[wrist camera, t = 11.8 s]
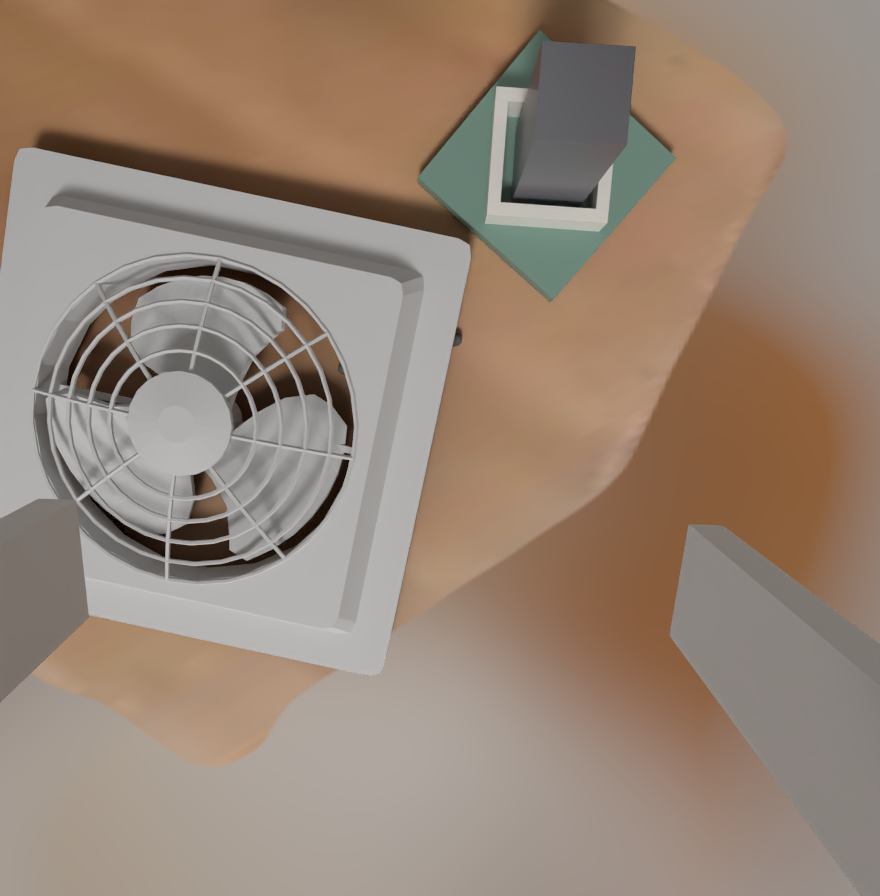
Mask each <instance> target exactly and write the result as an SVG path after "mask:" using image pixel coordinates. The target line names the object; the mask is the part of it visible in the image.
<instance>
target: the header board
mask: <svg viewBox="0 0 880 896" xmlns="http://www.w3.org/2000/svg"><path fill="white" fill-rule="evenodd" d="M542 41H551V40H550V39H549V38H548V37H547V36H546V35H545V34H544V33H543V32H542V31H541V30H539V31H538V32H537V34H536V35H535V36H534V37H533V39H532V40H531V41H530V42H529V43H528V45H527V46H526V47H525V48H524V49H523V51H522V52H521V53H520V54H519V55H518V57H517V58H516V59H515V60H514V61H513V63H512V64H511V65H510V66H509V68H508V69H507V70H506V71H505V72H504V74H503V75H502V76H501V77H500V78H499V80H498V81H497V82H496V83H495V84H494V86H493V87H492V88H491V89H490V90H489V92H488V93H487V94H486V95H485V97H484V98H483V99H482V100H481V101H480V103H479V104H478V105H477V106H476V107H475V109H474V110H473V111H472V112H471V113H470V115H469V116H468V117H467V118H466V120H465V121H464V122H463V123H462V124H461V126H460V127H459V128H458V129H457V130H456V132H455V133H454V134H453V135H452V136H451V138H450V139H449V140H448V141H447V142H446V144H445V145H444V146H443V147H442V149H441V150H440V151H439V152H438V153H437V155H436V156H435V157H434V158H433V159H432V161H431V162H430V163H429V164H428V165H427V167H426V168H425V169H424V170H423V171H422V173H421V174H420V175H419V176H418V184H419V185H420V186H421V187H422V188H424V189H425V190H426V191H427V192H428V193H429V194H430V195H431V196H432V197H434V198H435V199H436V200H437V201H438V202H439V203H440V204H441V205H442V206H444V207H445V208H446V209H447V210H448V211H449V212H450V213H451V214H452V215H454V216H455V217H456V218H457V219H458V220H459V221H460V222H461V223H462V224H464V225H465V226H466V227H467V228H468V229H469V230H470V231H471V232H473V233H474V234H475V235H476V236H477V237H478V238H479V239H480V240H481V241H483V242H484V243H485V244H486V245H487V246H488V247H489V248H490V249H491V250H493V251H494V252H495V253H496V254H497V255H498V256H499V257H500V258H501V259H503V260H504V261H505V262H506V263H507V264H508V265H509V266H510V267H511V268H513V269H514V270H515V271H516V272H517V273H518V274H519V275H520V276H521V277H523V278H524V279H525V280H526V281H527V282H528V283H529V284H530V285H531V286H533V287H534V288H535V289H536V290H537V291H538V292H539V293H540V294H541V295H543V296H544V297H545V298H546V299H547V300H548V301H549V302H551V301H552V300H553V299H554V298H555V297H556V296H557V295H558V294H559V292H560V291H561V290H562V289H563V288H564V287H565V285H566V284H567V283H568V282H569V281H570V280H571V279H572V277H573V276H574V275H575V274H576V273H577V272H578V270H579V269H580V268H581V267H582V266H583V265H584V264H585V262H586V261H587V260H588V259H589V258H590V257H591V256H592V254H593V253H594V252H595V251H596V250H597V249H598V247H599V246H600V245H601V244H602V243H603V242H604V241H605V239H606V238H607V237H608V236H609V235H610V234H611V233H612V231H613V230H614V229H615V228H616V227H617V226H618V224H619V223H620V222H621V221H622V220H623V219H624V218H625V216H626V215H627V214H628V213H629V212H630V211H631V210H632V208H633V207H634V206H635V205H636V204H637V203H638V201H639V200H640V199H641V198H642V197H643V196H644V195H645V193H646V192H647V191H648V190H649V189H650V188H651V186H652V185H653V184H654V183H655V182H656V181H657V180H658V178H659V177H660V176H661V175H662V174H663V173H664V172H665V170H666V169H667V168H668V167H669V166H670V165H671V163H672V162H673V161H674V160H675V159H676V157H675V156H674V155H673V154H672V153H670V152H669V151H668V150H667V149H666V148H665V147H664V146H663V145H662V144H661V143H660V142H659V141H658V140H657V139H656V138H655V137H653V136H652V135H651V134H650V133H649V132H648V131H647V130H646V129H645V128H644V127H643V126H642V125H641V124H640V123H639V122H637V121H636V120H635V119H634V118H633V117H632V116H631V115H630V118H629V129H628V140H627V146H626V147H625V148H624V149H623V151H622V152H621V153H620V155H619V156H618V157H617V159H616V160H615V161H614V163H613V164H612V165H611V167H610V168H609V169H608V170H607V172H606V173H605V174H604V176H603V177H602V178H601V180H600V181H599V182H598V184H597V185H596V186H595V188H594V189H593V190H592V191H591V193H590V194H589V195H588V197H587V198H586V199H585V201H584V202H583V203H582V205H581V206H580V207H579V208H576V207H562V206H548V205H534V204H520V203H511V191H512V177H513V162H514V148H515V134H516V129H517V126H518V123H519V119H520V116H521V112H522V109H523V105H524V102H525V98H526V95H527V92H528V88H529V85H530V81H531V78H532V74H533V71H534V67H535V64H536V61H537V57H538V54H539V50H540V47H541V43H542Z"/></svg>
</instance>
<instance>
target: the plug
mask: <svg viewBox="0 0 880 896" xmlns="http://www.w3.org/2000/svg"><path fill="white" fill-rule="evenodd" d="M635 50H636V47H634V46H618V45H602V44H586V43H570V42H554V41H542V43H541V47H540V50H539V54H538V57H537V61H536V64H535V67H534V71H533V74H532V78H531V81H530V85H529V88H528V92H527V95H526V98H525V102H524V105H523V109H522V112H521V116H520V119H519V123H518V126H517V129H516V134H515V148H514V162H513V177H512V191H511V203H520V204H534V205H548V206H562V207H576V208H579V207H580V206H581V205H582V203H583V202H584V201H585V199H586V198H587V197H588V195H589V194H590V193H591V191H592V190H593V189H594V188H595V186H596V185H597V184H598V182H599V181H600V180H601V178H602V177H603V176H604V174H605V173H606V172H607V170H608V169H609V168H610V167H611V165H612V164H613V163H614V161H615V160H616V159H617V157H618V156H619V155H620V153H621V152H622V151H623V149H624V148H625V147H626V146H627V140H628V129H629V118H630V106H631V95H632V84H633V73H634V61H635Z"/></svg>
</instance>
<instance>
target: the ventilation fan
mask: <svg viewBox="0 0 880 896" xmlns="http://www.w3.org/2000/svg"><path fill="white" fill-rule="evenodd" d="M470 262H471V253H470V245H469V244H467V243H466V242H464V241H462V240H461V239H459V238H455V237H450V236H445V235H441V234H436V233H431V232H426V231H422V230H417V229H412V228H408V227H403V226H398V225H394V224H389V223H384V222H380V221H375V220H370V219H366V218H361V217H356V216H351V215H347V214H342V213H337V212H333V211H328V210H323V209H319V208H314V207H309V206H305V205H300V204H295V203H290V202H286V201H281V200H276V199H272V198H267V197H262V196H258V195H253V194H248V193H244V192H239V191H234V190H229V189H225V188H220V187H215V186H211V185H206V184H201V183H197V182H192V181H187V180H183V179H178V178H173V177H169V176H164V175H159V174H154V173H150V172H145V171H140V170H136V169H131V168H126V167H122V166H117V165H112V164H108V163H103V162H98V161H93V160H89V159H84V158H79V157H75V156H70V155H65V154H61V153H56V152H51V151H47V150H42V149H37V148H23V149H19V151H18V154H17V156H16V158H15V160H14V167H13V175H12V183H11V191H10V199H9V207H8V215H7V223H6V231H5V239H4V247H3V255H2V263H1V271H0V518H2V517H4V516H6V515H8V514H10V513H12V512H14V511H16V510H18V509H19V508H21V507H23V506H25V505H27V504H29V503H31V502H33V501H35V500H37V499H64V500H76V503H77V512H78V522H79V531H80V540H81V549H82V558H83V567H84V577H85V586H86V595H87V604H88V613H89V615H92V616H96V617H101V618H105V619H110V620H115V621H119V622H124V623H128V624H133V625H137V626H142V627H147V628H151V629H156V630H160V631H165V632H170V633H174V634H179V635H183V636H188V637H192V638H197V639H202V640H206V641H211V642H215V643H220V644H225V645H229V646H234V647H238V648H243V649H247V650H252V651H257V652H261V653H266V654H270V655H275V656H280V657H284V658H289V659H293V660H298V661H302V662H307V663H312V664H316V665H321V666H325V667H330V668H335V669H339V670H344V671H349V672H353V673H358V674H362V675H378V674H379V673H380V671H381V670H382V668H383V666H384V664H385V661H386V656H387V651H388V646H389V642H390V637H391V633H392V628H393V623H394V618H395V614H396V609H397V604H398V600H399V595H400V590H401V586H402V581H403V576H404V572H405V567H406V562H407V557H408V553H409V548H410V543H411V539H412V534H413V529H414V525H415V520H416V515H417V510H418V506H419V501H420V496H421V492H422V487H423V482H424V478H425V473H426V468H427V464H428V459H429V454H430V449H431V445H432V440H433V435H434V431H435V426H436V421H437V417H438V412H439V407H440V403H441V398H442V393H443V388H444V384H445V379H446V374H447V370H448V365H449V360H450V356H451V351H452V346H453V341H454V337H455V332H456V327H457V323H458V318H459V313H460V309H461V304H462V299H463V295H464V290H465V285H466V280H467V276H468V271H469V266H470ZM204 266H215V270H214V273H213V276H188V275H181V276H170V277H160V278H154V279H151V280H148V279H150V278H152V277H154V276H156V275H158V274H160V273H162V272H165V271H169V270H178V269H187V268H196V267H204ZM220 267H223V268H228V269H232V270H237V271H242V272H246V273H251V274H256V275H260V276H262V277H264V278H265V279H267V280H269V281H270V282H272V283H274V284H276V285H277V286H279V287H281V288H282V289H283V290H284V291H286V292H287V293H288V294H289V295H290V296H292V297H293V298H294V299H295V300H296V301H297V302H299V303H300V304H301V305H302V306H303V307H304V308H305V309H306V310H307V312H308V313H309V314H310V315H311V316H312V317H313V318H314V320H315V321H316V322H317V323H318V325H319V326H320V327H321V328H322V330H323V331H324V333H322V334H321V335H319V336H317V337H316V338H314V339H312V340H310V341H309V342H307V341H306V339H305V338H304V337H303V336H302V334H301V333H300V332H299V331H298V329H297V328H296V327H295V326H294V325H293V323H292V322H291V321H290V320H289V319H288V318H287V317H286V308H285V307H284V306H282V305H281V304H280V303H279V302H277V301H276V300H275V299H274V298H272V297H271V296H270V295H269V294H267V293H265V292H263V291H261V290H259V289H257V288H255V287H254V286H252V285H250V284H248V283H245V282H241V281H237V280H233V279H230V278H226V277H218V274H219V271H220ZM146 280H148V281H146ZM170 281H172V282H170ZM159 282H169V283H166V284H163V285H161V286H158V287H156V288H154V289H153V290H151V291H150V292H148V293H146V294H145V295H143V296H141V297H140V298H139V299H138V302H137V305H136V308H135V309H133V310H131V311H129V312H127V313H126V314H124V315H122V316H120V317H118V318H117V317H116V315H115V313H114V311H113V309H112V307H111V305H110V304H111V303H112V302H113V301H114V300H116V299H118V298H120V297H121V296H123V295H125V294H127V293H129V292H130V291H133V290H136V289H139V288H142V287H145V286H149V285H152V284H155V283H159ZM106 308H107V310H108V312H109V314H110V316H111V318H112V320H113V322H111V323H110V324H109V325H108V326H107V327H106V328H105V329H103V330H102V331H101V332H100V333H99V334H98V335H97V336H96V337H95V338H94V340H93V341H92V342H91V344H90V345H89V346H88V348H87V349H86V350H85V352H84V353H83V354H82V356H81V358H80V361H79V363H78V365H77V367H76V369H75V371H74V373H73V375H72V379H71V383H70V386H69V385H67V380H68V373H69V366H70V364H71V362H72V360H73V358H74V356H75V354H76V352H77V350H78V348H79V346H80V344H81V342H82V340H83V338H84V336H85V334H86V332H87V330H88V328H89V325H90V324H91V323H92V322H93V321H94V320H95V319H96V318H97V317H98V316H99V315H100V314H101V313H102V312H103V311H104V310H105V309H106ZM131 316H133V317H132V320H131V337H130V338H128V337H127V335H126V333H125V331H124V329H123V328H122V326H121V324H120V322H122V321H124V320H125V319H127V318H129V317H131ZM285 323H287V324H288V326H289V327H290V328H291V329H292V331H293V332H294V333H295V334H296V336H297V337H298V338H299V339H300V341H301V342H302V343H303V344H304V345H302V346H300V347H299V348H297V349H295V350H294V351H292V352H290V353H289V354H287V355H286V354H285V352H284V351H283V350H282V349H281V348H280V346H279V345H278V344H277V343H276V341H275V340H274V338H275V337H276V336H278V335H279V334H280V333H282V332H283V331H284V330H285ZM115 326H116V327H117V329H118V331H119V332H120V334H121V336H122V338H123V340H124V342H123V343H122V344H120V345H119V346H118V347H117V348H116V349H115V350H114V351H112V352H111V354H110V355H109V356H108V358H107V359H106V360H105V361H104V363H103V364H102V365H101V367H100V368H99V370H98V372H97V375H96V377H95V379H94V381H93V383H92V385H91V389H90V390H89V389H84V388H79V387H75V385H76V381H77V377H78V375H79V373H80V371H81V369H82V367H83V365H84V362H85V360H86V358H87V356H88V355H89V354H90V352H91V351H92V350H93V348H94V347H95V346H96V344H97V343H98V342H99V340H100V339H101V338H102V337H103V336H104V335H106V334H107V333H108V332H109V331H110V330H111V329H113V328H114V327H115ZM325 337H328V339H329V340H330V342H331V344H332V346H333V348H334V350H335V352H336V354H337V356H338V358H339V361H340V363H341V365H342V367H343V370H344V373H345V377H346V380H347V383H348V386H349V390H350V395H351V404H352V412H353V420H354V433H353V444H352V446H348V445H346V437H347V425H346V424H345V422H344V421H343V420H342V418H341V417H340V416H339V414H338V413H337V412H336V410H335V409H334V408H333V406H332V398H331V395H330V391H329V388H328V385H327V381H326V378H325V375H324V372H323V369H322V367H321V365H320V363H319V362H318V360H317V358H316V356H315V354H314V352H313V350H312V348H311V345H313V344H315V343H316V342H318V341H320V340H322V339H323V338H325ZM269 343H271V344H272V345H273V346H274V348H275V349H276V350H277V351H278V353H279V354H280V355H281V356H282V358H281V359H279V360H277V361H276V362H274V363H272V364H271V365H269V366H268V367H266V368H265V367H264V366H263V365H262V364H261V363H260V361H259V360H258V359H257V358H256V356H257V355H258V354H259V353H260V352H261V351H262V350H263V349H264V348H265V347H266V346H267V345H268V344H269ZM126 346H127V347H128V348H129V350H130V352H131V353H132V355H133V357H134V359H135V360H136V363H135V364H133V365H132V366H131V367H130V368H129V369H128V370H127V371H126V372H125V373H124V375H123V376H122V377H121V378H120V380H119V381H118V383H117V385H116V387H115V389H114V391H113V393H112V394H109V393H104V392H99V391H96V387H97V385H98V383H99V381H100V378H101V376H102V374H103V372H104V370H105V369H106V368H107V366H108V365H109V364H110V362H111V361H112V360H113V358H114V357H115V356H116V355H117V354H118V353H119V352H120V351H122V350H123V349H124V348H125V347H126ZM305 349H307V351H308V353H309V354H310V356H311V358H312V360H313V362H314V364H315V366H316V368H317V370H318V371H319V375H320V378H321V381H322V384H323V388H324V391H325V394H326V397H327V402H325V401H324V400H322V399H321V398H319V397H318V396H316V395H315V394H313V395H305V394H304V391H303V388H302V384H301V381H300V378H299V376H298V375H297V373H296V371H295V369H294V367H293V365H292V363H291V361H290V360H289V359H290V358H291V357H293V356H295V355H296V354H298V353H300V352H301V351H303V350H305ZM137 353H138V354H137ZM139 356H140V357H139ZM140 358H141V359H140ZM252 361H254V363H255V364H256V365H257V366H258V368H259V369H260V370H261V371H259V372H258V373H256V374H255V375H253V376H252V377H250V378H248V379H247V380H245V381H243V379H244V377H245V375H246V373H247V371H248V369H249V367H250V365H251V363H252ZM283 362H286V364H287V366H288V368H289V370H290V371H291V373H292V375H293V377H294V379H295V381H296V384H297V388H298V391H299V394H300V396H295V397H287V398H284V399H282V400H280V398H279V395H278V392H277V389H276V387H275V385H274V383H273V381H272V379H271V377H270V375H269V374H268V372H269V371H270V370H272V369H274V368H275V367H277V366H278V365H280V364H282V363H283ZM143 363H144V364H145V365H146V366H147V367H149V368H150V369H152V370H153V371H155V372H156V373H157V374H159V375H157V376H155V377H153V378H152V377H151V375H150V373H149V372H148V370H147V369H146V367H145V365H144V364H143ZM138 367H140V368H141V370H142V372H143V373H144V375H145V376H146V378H147V380H148V381H147V382H145V383H144V384H143V385H142V386H141V387H140V388H139V389H138V390H137V392H136V394H135V396H134V398H129V397H124V396H119V395H118V393H119V391H120V389H121V387H122V385H123V383H124V382H125V381H126V379H127V378H128V377H129V375H130V374H131V373H132V372H133V371H134V370H135V369H137V368H138ZM262 375H264V376H265V378H266V380H267V382H268V384H269V386H270V387H271V389H272V392H273V395H274V399H275V402H276V403H274V404H272V405H270V406H268V407H266V408H265V409H263V410H261V411H259V412H258V413H257V410H256V406H255V403H254V400H253V397H252V395H251V393H250V391H249V390H248V388H247V386H246V385H248V384H249V383H251V382H253V381H254V380H256V379H257V378H259V377H261V376H262ZM240 389H243V391H244V392H245V394H246V396H247V398H248V401H249V404H250V407H251V410H252V414H253V416H252V417H251V418H250V419H248V420H247V421H246V422H244V421H242V414H241V411H240V409H239V407H238V405H237V404H236V403H235V398H236V396H237V393H238V391H239V390H240ZM98 399H100V400H98ZM101 400H105V401H110V403H107V402H104V401H101ZM115 403H120V404H115ZM344 453H348V454H351V455H350V456H349V455H344ZM343 459H346V460H349V465H348V470H347V473H346V477H345V480H344V483H343V486H342V488H341V490H340V492H339V493H338V495H337V497H336V499H335V501H334V502H333V504H332V506H331V508H330V509H329V511H328V513H327V515H326V516H325V518H324V520H323V521H322V522H321V524H320V525H319V526H317V527H316V528H315V529H314V530H313V531H312V532H311V533H310V534H309V535H307V536H306V537H305V538H304V539H303V540H302V541H301V542H300V543H299V544H297V545H296V546H294V547H291V548H289V549H287V550H285V551H281V550H280V549H279V548H278V545H280V544H281V543H283V542H284V541H285V540H287V539H288V538H290V537H291V536H293V535H294V534H295V533H296V532H297V531H298V530H300V529H301V528H302V527H303V526H304V525H305V524H306V523H307V522H308V521H309V520H310V519H311V518H312V517H313V516H314V515H315V513H316V512H317V510H318V509H319V508H320V506H321V505H322V504H323V502H324V501H325V500H326V498H327V497H328V495H329V493H330V491H331V489H332V487H333V485H334V483H335V481H336V479H337V477H338V474H339V471H340V468H341V464H342V460H343ZM203 471H205V472H206V473H207V474H208V475H209V476H210V478H211V479H212V480H213V482H214V484H215V486H216V488H217V489H216V490H214V491H213V492H209V493H206V494H202V495H197V496H195V486H194V477H193V475H195V474H198V473H200V472H203ZM218 493H220V495H221V497H222V498H223V500H224V502H225V504H226V506H227V511H226V512H225V513H222V514H218V515H214V516H211V517H207V518H197V519H190V515H191V512H192V509H193V506H194V503H195V500H201V499H205V498H208V497H212V496H215V495H216V494H218ZM89 495H90V496H91V497H92V498H93V499H94V500H95V501H96V502H97V503H98V504H99V505H100V506H101V507H102V508H103V509H105V510H106V511H107V512H109V513H110V514H111V515H112V516H114V517H115V518H116V519H118V520H119V521H120V522H122V523H123V524H125V525H126V526H128V527H130V528H132V529H134V530H135V531H137V532H139V533H141V534H143V535H144V536H148V537H151V538H155V539H158V540H161V541H164V542H166V545H165V557H163V556H161V555H159V554H158V553H156V552H154V551H152V550H150V549H149V548H147V547H145V546H143V545H142V544H140V543H138V542H136V541H135V540H133V539H131V538H129V537H127V536H126V535H124V534H123V533H122V532H121V531H120V530H119V529H118V527H117V526H116V525H115V524H114V523H113V522H112V521H111V520H110V519H109V518H108V517H107V516H106V515H105V514H104V513H103V512H102V511H101V510H100V509H99V508H98V507H97V506H96V504H95V503H94V502H93V501H92V500H91V498H90V496H89ZM226 516H228V527H229V535H227V536H223V537H220V538H216V539H209V540H196V541H188V540H180V539H171V531H174V530H176V529H178V528H180V527H182V526H184V525H186V524H191V523H204V522H210V521H213V520H217V519H220V518H224V517H226ZM165 533H166V537H164V536H160V535H157V534H165ZM226 540H229V550H230V551H232V552H233V553H235V554H237V555H235V556H232V557H228V558H225V559H221V560H207V561H187V560H179V559H170V543H175V544H183V545H203V544H215V543H218V542H222V541H226ZM272 549H274V550H275V551H276V552H277V553H278V554H275V555H273V556H271V557H268V558H266V559H264V560H262V561H259V562H257V563H253V564H242V565H231V566H221V567H205V566H201V565H214V564H223V563H227V562H230V561H234V560H238V559H241V558H243V559H245V560H246V561H248V560H250V559H252V558H254V557H257V556H259V555H261V554H263V553H266V552H268V551H270V550H272Z"/></svg>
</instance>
